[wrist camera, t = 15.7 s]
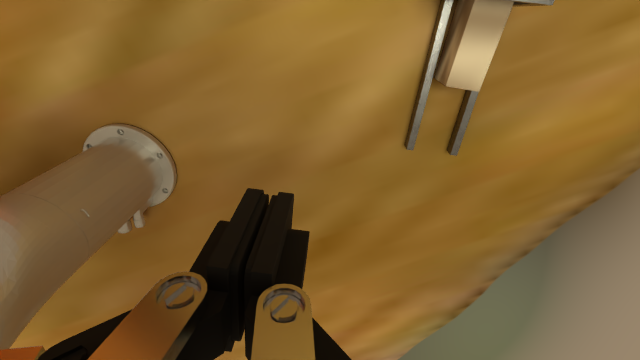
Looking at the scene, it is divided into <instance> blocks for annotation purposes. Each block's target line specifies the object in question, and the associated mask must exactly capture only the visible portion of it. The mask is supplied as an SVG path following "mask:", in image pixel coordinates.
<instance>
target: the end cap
mask: <svg viewBox="0 0 640 360" xmlns="http://www.w3.org/2000/svg"><path fill="white" fill-rule="evenodd" d="M504 1H513V2H514V4H513V6H543V5H553V3H554V0H504ZM513 6H512V7H513Z"/></svg>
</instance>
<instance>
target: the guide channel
mask: <svg viewBox="0 0 640 360" xmlns="http://www.w3.org/2000/svg"><path fill="white" fill-rule="evenodd" d="M452 4H453V0H441V3H440V7H439V11H438V15H437V19H436V23H435V27H434V31H433V35H432V39H431V42H430V46H429V50H428V54H427V58H426V62H425V66H424V70H423V74H422V78H421V82H420V86H419V90H418V94H417V98H416V102H415V106H414V110H413V114H412V118H411V122H410V126H409V130H408V134H407V138H406V142H405V147H406V149H407V150H413V149H414V145H415V141H416V138H417V134H418V130H419V127H420V123H421V119H422V115H423V112H424V108H425V104H426V100H427V97H428V93H429V89H430V86H431V82H432V78H433V74H434V71H435V67H436V63H437V59H438V56H439V52H440V48H441V45H442V41H443V37H444V33H445V30H446V26H447V22H448V18H449V15H450V11H451V7H452ZM477 95H478V92H477V91H471V90H466V93H465V96H464V99H463V102H462V105H461V108H460V111H459V114H458V117H457V121H456V124H455V127H454V130H453V133H452V136H451V139H450V142H449V145H448V148H447V151H448V152H449V154H450V155H456V156H457V154H458V151H459V148H460V145H461V142H462V139H463V136H464V133H465V130H466V127H467V124H468V122H469V119H470V116H471V113H472V110H473V107H474V104H475V101H476V98H477Z"/></svg>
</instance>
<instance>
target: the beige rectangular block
mask: <svg viewBox="0 0 640 360" xmlns="http://www.w3.org/2000/svg"><path fill="white" fill-rule="evenodd" d="M513 4H514V2H513V1H504V0H458V2H457V6H456V9H455V12H454V15H453V18H452V21H451V24H450V28H449V31H448V34H447V37H446V40H445V43H444V47H443V50H442V53H441V56H440V59H439V62H438V66H437V69H436V72H435V75H434V78H435V79H436V80H438V81H439V82H441V83H442V84H443V85H445V86H448V87H454V88H459V89H465V90H471V91H477V92H479V91H480V88H481V86H482V83H483V80H484V78H485V75H486V73H487V70H488V68H489V65H490V63H491V60H492V57H493V55H494V52H495V50H496V47H497V45H498V42H499V40H500V37H501V34H502V32H503V29H504V27H505V24H506V22H507V19H508V17H509V14H510V12H511V9H512V6H513Z"/></svg>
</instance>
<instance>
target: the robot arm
mask: <svg viewBox="0 0 640 360" xmlns="http://www.w3.org/2000/svg"><path fill="white" fill-rule="evenodd" d="M176 179H177V174H176V167H175V164H174V161H173V159H172V157H171V156H170V154H169V152H168V151H167V150H166V148H165V147H164V146H163V145H162V144H161V143H160V142H159V141H158V140H157V139H156V138H155V137H153V136H152V135H150V134H149V133H147V132H146V131H144V130H142V129H140V128H137V127H134V126H131V125H126V124H110V125H106V126H103V127H101V128H99V129H97V130H95V131H94V132H92V133H91V134H90V135H89V136H88V138H87V139H86V141H85V143H84V146H83V152H82V153H80V154H78V155H76V156H74V157H73V158H71V159H69V160H67V161H65V162H63V163H62V164H60V165H58V166H56V167H54V168H52V169H50V170H49V171H47V172H45V173H43V174H41V175H39V176H37V177H36V178H34V179H32V180H30V181H28V182H26V183H25V184H23V185H21V186H19V187H17V188H15V189H13V190H12V191H10V192H8V193H6V194H4V195H2V196H0V360H214V359H215V358H217V357H218V356H220V355H221V354H223V353H224V351H229V352H231V351H232V348H233V345H234V342H235V341H241V339H242V336H243V332H244V329H245V356H246V357H247V359H248V360H351V359H350V358H349V356H348V355H347V354H346V353H345V352H344V351H343V350H342V349H341V348H340V347H339V346H338V345H337V344H336V342H335V341H334V340H333V339H332V338H331V337H330V336H329V335H328V334H327V333H326V332H325V331H324V330H323V328H322V327H321V326H320V325H319V324H318V323H317V322H316V321H315V320H314V319H313V318H312V310H311V302H310V299H309V297H308V295H307V294H306V292H305V291H303V290H302V287H303V280H304V273H305V266H306V258H307V250H308V241H309V231H302V230H294V229H291V228H292V215H293V202H294V194H292V193H283V192H279V193H278V195H277V196H276V195H272V198H271V200H270V203H269V195H268V194H264V191H263V190H259V189H251V188H248V189H247V190H246V192H245V194H244V196H243V198H242V200H241V202H240V203H239V205H238V207H237V209H236V211H235V213H234V215H233V217H232V218H231V220H230V222H229V221H219V222H218V223H217V225H216V227H215V228H214V230H213V232H212V233H211V235H210V237H209V239H208V240H207V242H206V244H205V245H204V247H203V249H202V251H201V252H200V254H199V256H198V257H197V259H196V261H195V262H194V264H193V266H192V268H191V269H190V271H189V272H177V273H174V274H171V275H168V276H166V277H165V278H163V279H161V280H160V281H159V282H157V283H156V284H155V285H154V286H153V287H152V288H151V290H150V291H149V292H148V293H147V294H146V295H145V296H144V297H143V298H142V300H141V301H140V302H139V303H138V304H137V305H136V306H135V307H134V308H133V309H132V310H130V311H128V312H126V313H123V314H121V315H119V316H117V317H114V318H112V319H110V320H108V321H106V322H103V323H101V324H99V325H97V326H95V327H92V328H90V329H88V330H86V331H83V332H81V333H79V334H77V335H75V336H72V337H70V338H68V339H66V340H64V341H62V342H60V343H58V344H56V345H54V346H53V347H51V348H49V349H48V350H45V349H44V347H43V346H35V347H24V348H14V349H9V348H10V347H11V346H12V344H13V343H14V342H15V340H16V339H17V338H18V336H19V335H20V333H21V332H22V331H23V330H24V328H25V327H26V326H27V324H28V323H29V322H30V320H31V319H32V318H33V317H34V316H35V314H36V313H37V312H38V311H39V310H40V308H41V307H42V306H43V305H44V304H45V303H46V302H47V301H48V299H49V298H50V297H51V296H52V295H53V294H54V293H55V292H56V291H57V290H58V289H59V288H60V287H61V286H62V285H63V284H64V283H65V282H66V281H67V280H68V279H69V278H70V277H71V276H72V275H73V274H74V273H75V272H76V271H77V270H78V269H79V268H80V267H81V266H82V265H83V264H84V263H85V262H86V261H87V260H88V259H89V258H90V257H91V256H92V255H93V254H94V253H95V252H96V251H97V250H98V249H99V248H100V247H101V246H102V245H103V244H104V243H105V242H106V241H107V240H109V239H110V238H111V237H112V236H113V235H114V234H115V233H116V232H118V233H127V232H129V231H131V229H132V225H131V221H130V218H131V217H132V216H133V217H134V218H133V220H134V224H135V227H137V228H140V227H143V226H145V219H144V216H143V212H144V211H145V210H146V209H147V208H148V207H151V206H155V205H157V204H160V203H161V202H163V201H164V200H166V199H167V198H168V197H169V196H170V194H171V193H172V191H173V190H174V188H175V185H176Z"/></svg>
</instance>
